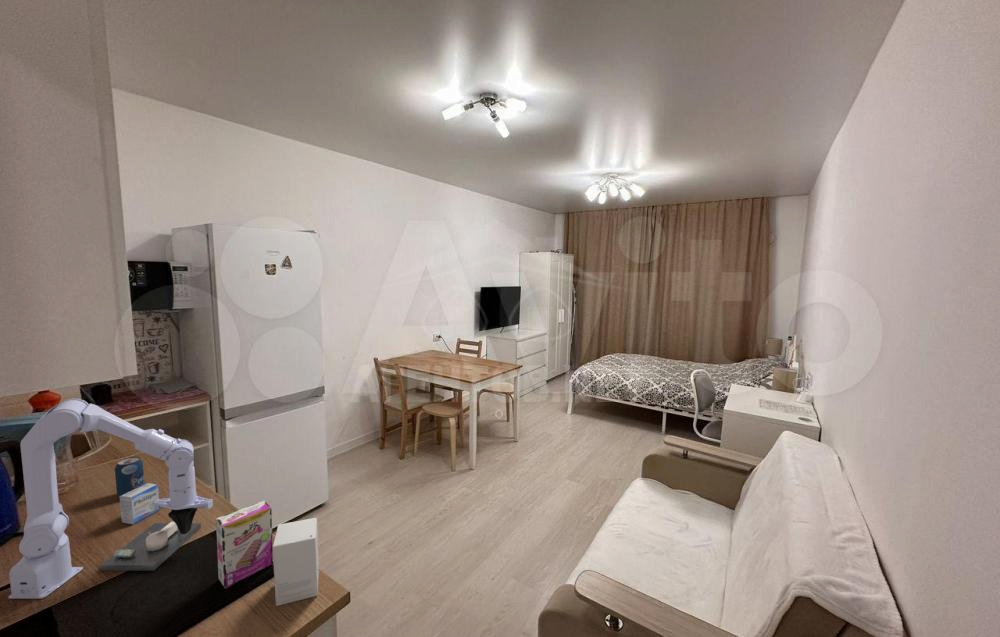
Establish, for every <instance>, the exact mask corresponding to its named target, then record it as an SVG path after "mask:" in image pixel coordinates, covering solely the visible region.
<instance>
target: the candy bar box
mask: <svg viewBox="0 0 1000 637" xmlns="http://www.w3.org/2000/svg"><path fill="white" fill-rule="evenodd" d="M272 514H273V513H272V506H270V505H269V504H268V503H267V501H266V500H262V501H258V502H257V503H254V504H251V505H250V506H245V507H244V508H240V509H238V510H235V511H233V512H230V513H227V514H224V515H222V516H219V517H217V518H215V527H216V529H215V530H216V546H217V548H216V552H217V568H218V569H217V575H218V581H219V582H220V583H221V585H222V586H224V587H223V588H224V589H225V590H226V589H228V588H230V587H232V586H234V585H236V584H238V583H240V582H242V581H243V579H244V580H246V579H247V577H248V578H249V576H250V577H251V575H252V576H253V574H254V575H256V574H257V573H259V572H258V571H260V572H262V571H263V570H262V569H264V570H265V568H266V567H268V566H270V565H272V566H274V562H273V548H272V547H273V522H272V521H273V518H272ZM270 567H271V566H270ZM268 568H269V567H268ZM266 569H267V568H266ZM261 570H262V571H261ZM256 572H257V573H256ZM255 573H256V574H255ZM245 578H246V579H245ZM241 580H242V581H241ZM239 581H240V582H239Z"/></svg>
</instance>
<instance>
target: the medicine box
mask: <svg viewBox="0 0 1000 637" xmlns="http://www.w3.org/2000/svg"><path fill="white" fill-rule="evenodd" d="M159 494H160V493H159V485H158V484H156V483H152V482H151V483H150V482H147V483H145V484H144V485H142V486H140V487H138V488H136V489H134V490H132V491H130V492H128V493H126V494H124V495H122V496H120V497H119V496H118V498H119V506H120V516H121V523H123V524H127V525H135V524H138V523H139V522H141V521H143V520H146V518H148V517H150V516H152V515H154V514H155V513H156V512H159V511H160V508H159V509H154V502H156V501H157V500H158V499H160V496H159Z"/></svg>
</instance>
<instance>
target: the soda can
mask: <svg viewBox="0 0 1000 637" xmlns="http://www.w3.org/2000/svg"><path fill="white" fill-rule="evenodd" d="M114 474H115V476H114V477H115V486H116V495H117V497H118V498H119V497H120V496H122V495H124V494H126V493H128V492H130V491H132V490H134V489H136V488H138V487H140V486H142V485H144V484H146V483H145V471H144V461H143V460H142V459H141V457H140V456H138V455H137V456H129V457H124V458H122V459H120V460H118V461H117V462H116V466H115V467H114Z"/></svg>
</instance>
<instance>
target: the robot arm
mask: <svg viewBox="0 0 1000 637" xmlns="http://www.w3.org/2000/svg"><path fill="white" fill-rule="evenodd" d="M79 428H80V429H81V430H80V431H79V432H80V433H88V432H93V431H102V432H104V433H107V434H110V435H113V436H116V437H118V438H121V439H124V440H125V441H129V442H132V443H133V444H134V448H135V450H137V451H139V452H141V453H144V454H146V455H148V456H151V457H154V458H156V459H158V460H161V461H165V465H166V467H168V472H167V473H168V474H167V476H168V477H167V479H168V489H169V490H168V491H169V492H168V493H169V497H166V498H159V499H158V500H157V501H156V502H154V509H159V508H161V509H163V508H164V509H169V510H171V511H169V512H168V515H167V516H168V517H169V518H170V519H171V521H172V520H173V521H174V522H175V523H176V525H177V527H178V529H179V531H180V533H181V534H186V533H187V532H189V531H190V530H191V525H192V523H193V522H194V517H195V515H196V512H197V511H198V509H204V510H205V511H206V510H207V511H208V510H210V509H211V508H212V507H213V506H214V501H213V500H214V499H213V498H206V497H201V496H199V495H198V493H197V487H196V485H197V484H196V471H195V465H194V464H195V463H194V462H195V461H194V460H195V459H194V458H195V456H194V450H195V449H194V445H193V444H192V442H190V441H189V440H187V439H181V438H179V437H178V438H174V437H172V436H171V435H168V434H166V433H165V430H163V429H161V428H159V429H158V430H157V429H154V428H149V429H145V430H144V429H142V428H140V427H138V426H136V425H134V424H132V423H130V422H129V421H126V420H125V419H123V418H120V417H118V416H117V415H115V414H113V413H111V412H109V411H107V410H105V409H103V408H102V407H100V406H99V405H96V404H93V403H88V402H87V401H86V400H83V399H82V398H81V399H80V398H68V399H65V400H63V401H60V402H59V403H57V404H56V405H54V406H53V407H50V409H49V410H47V411H46V413H45V414H43V416H41V417H40V418H39V419H38V420H37V421H36V423H35V424H33V426H32V427H31V428H30V430H28V432H27V433H26V435H24V437H23V438H22V439H21V441H20V445H19V446H20V453H21V463H22V464H21V465H22V474H23V483H24V484H23V485H24V492H25V493H24V494H25V503H26V504H25V505H26V513H27V516H26V519H25V524H24V526H23V538H22V539H21V541H20V543H19V545H18V549H19V552H20V554H22V558H21V559H20V560H19V561H18V562H17V563H16V564H15V565H13V567H11V569H10V570H9V574H8V575H9V576H8V577H9V583H10V590H11V591H10V592H11V594H10V595H8V600H9V599H14V600H15V599H22V600H23V599H29V600H31V599H34V600H35V599H41V600H42V599H44V598H46V597H47V596H49V595H50V594H51V593H53V592H54V591H56V590H57V589H58V588H59V587H62V586H63V585H64V584H65V583H66V582H68V581H69V580H70V579H71V578H73V577H74V576H76V575H77V574H79V573H80V572H81V571H83V569H84V567H83V566H72V556H71V549H70V547H71V546H70V540H69V536H68V535H67V534H66V533H65V531H66V529H67V528H68V526H69V525H70V524H69V523H70V518H69V516H68V514H66V513H65V512H64V510H63V509H64V508H63V505H62V504H61V503H60V502H59V500H60V499H59V492H58V480H57V470H56V468H57V467H56V459H55V448H54V444H55V443H56V442H57V441H58V440H60V438H63V437H65V436H69V435H70V434H73V433H75V432H76V431H78V429H79Z"/></svg>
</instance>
